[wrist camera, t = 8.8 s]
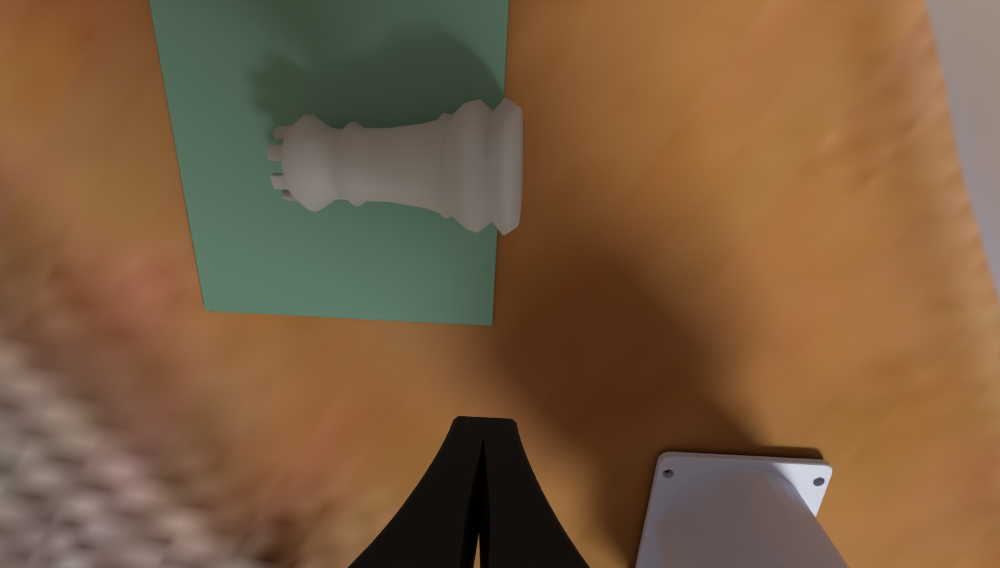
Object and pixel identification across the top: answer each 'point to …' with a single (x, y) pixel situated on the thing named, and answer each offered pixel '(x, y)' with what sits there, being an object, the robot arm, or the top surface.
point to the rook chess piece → (411, 164)
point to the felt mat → (336, 101)
